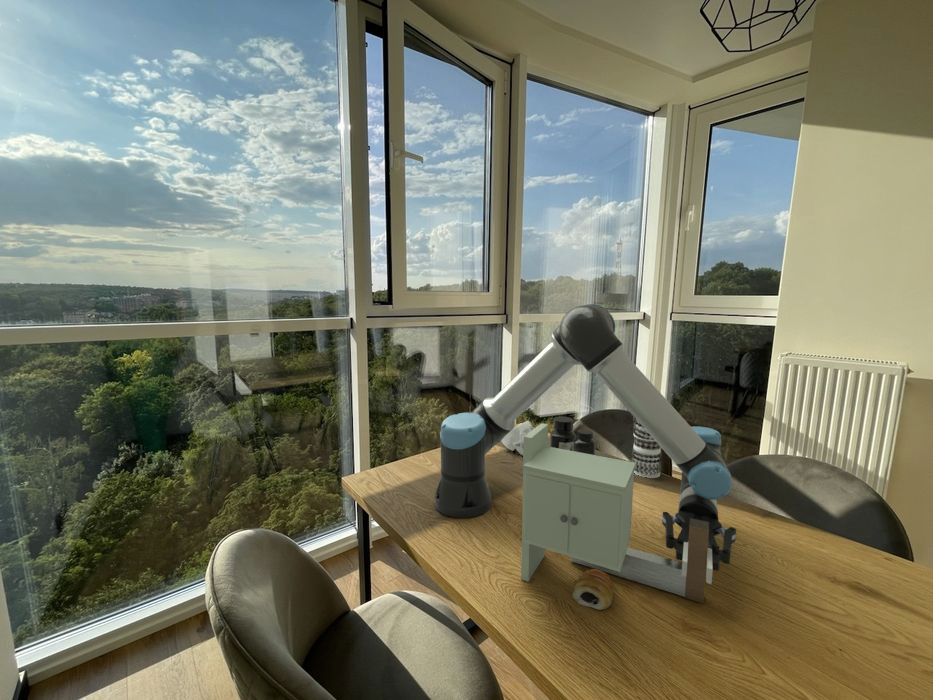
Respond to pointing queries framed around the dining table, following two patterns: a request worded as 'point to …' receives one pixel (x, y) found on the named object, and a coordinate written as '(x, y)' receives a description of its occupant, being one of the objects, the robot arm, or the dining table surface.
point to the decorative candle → (645, 453)
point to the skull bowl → (517, 437)
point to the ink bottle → (563, 434)
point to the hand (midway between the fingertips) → (696, 572)
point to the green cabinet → (574, 505)
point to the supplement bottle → (584, 442)
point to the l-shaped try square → (668, 566)
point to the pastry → (593, 589)
